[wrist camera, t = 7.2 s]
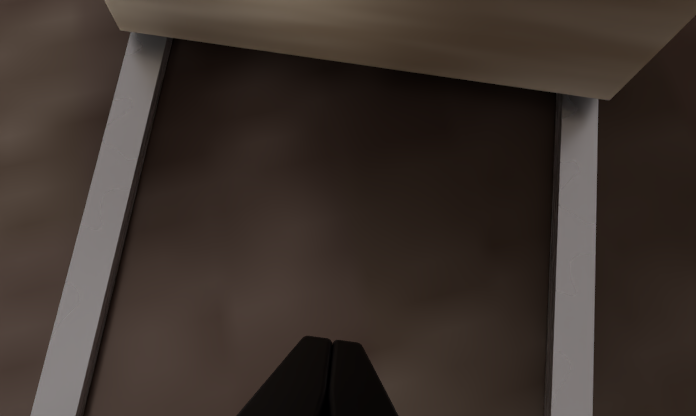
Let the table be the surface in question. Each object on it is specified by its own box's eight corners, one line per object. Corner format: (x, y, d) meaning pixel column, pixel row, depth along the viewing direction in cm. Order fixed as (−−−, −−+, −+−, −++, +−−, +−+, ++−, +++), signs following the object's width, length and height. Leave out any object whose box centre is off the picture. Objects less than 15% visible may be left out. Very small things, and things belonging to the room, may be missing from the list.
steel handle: (578, 655, 14) (587, 664, 14) (-4, 578, 14) (-14, 585, 13) (592, 31, 19) (599, 22, 18) (154, -32, 19) (150, -44, 18)
